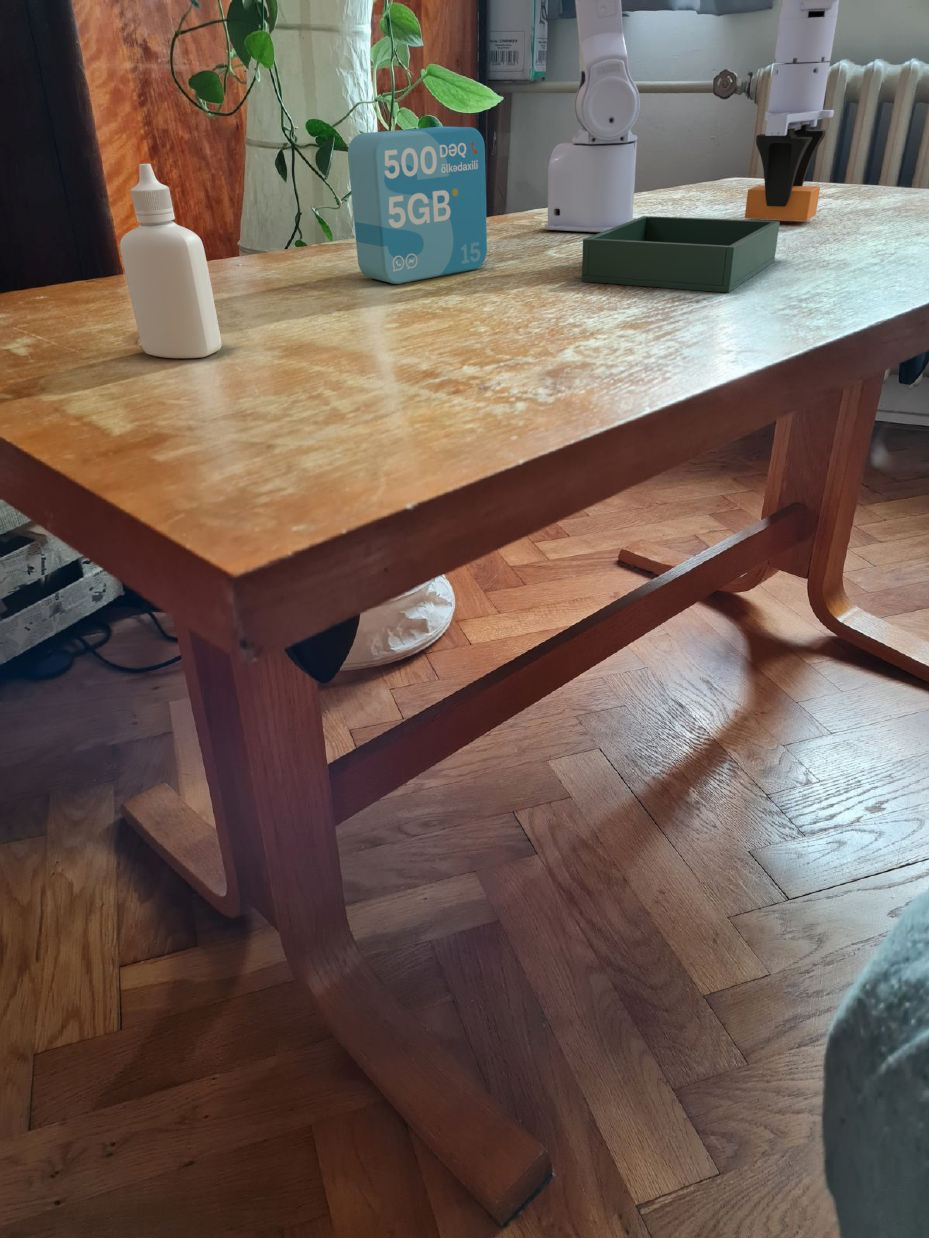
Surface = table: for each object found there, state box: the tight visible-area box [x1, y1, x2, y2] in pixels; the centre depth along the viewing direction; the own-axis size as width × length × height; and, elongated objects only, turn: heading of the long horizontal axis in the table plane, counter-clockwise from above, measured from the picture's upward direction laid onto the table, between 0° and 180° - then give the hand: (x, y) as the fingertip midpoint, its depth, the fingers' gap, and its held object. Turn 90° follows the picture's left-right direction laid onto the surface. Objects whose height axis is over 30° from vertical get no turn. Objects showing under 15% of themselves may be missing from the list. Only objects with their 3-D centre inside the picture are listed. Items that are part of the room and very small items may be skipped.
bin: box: [581, 215, 780, 294], centre depth 80 cm, size 13×14×4 cm
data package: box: [347, 126, 488, 285], centre depth 81 cm, size 12×4×12 cm, turn 128°
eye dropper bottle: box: [119, 163, 222, 359], centre depth 60 cm, size 4×6×12 cm
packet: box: [744, 184, 821, 222], centre depth 101 cm, size 7×4×3 cm, turn 59°
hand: (781, 203), depth 101 cm, fingers closed on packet, 4 cm apart
